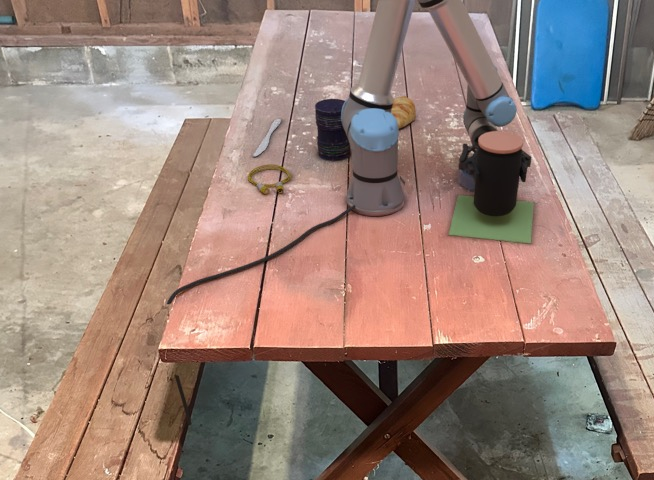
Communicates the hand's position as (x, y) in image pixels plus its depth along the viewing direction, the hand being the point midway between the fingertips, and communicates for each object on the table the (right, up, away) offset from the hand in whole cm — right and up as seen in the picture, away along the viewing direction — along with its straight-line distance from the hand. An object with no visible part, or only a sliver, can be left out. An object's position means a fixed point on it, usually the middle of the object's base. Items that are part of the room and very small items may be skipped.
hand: (501, 178), depth 167 cm
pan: (0, +5, +28) cm, 29 cm away
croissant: (-23, +31, +61) cm, 72 cm away
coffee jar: (0, -6, +10) cm, 11 cm away
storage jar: (-43, +15, +41) cm, 61 cm away
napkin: (0, -8, +12) cm, 14 cm away
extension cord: (-60, +4, +27) cm, 66 cm away
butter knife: (-64, +22, +49) cm, 84 cm away
